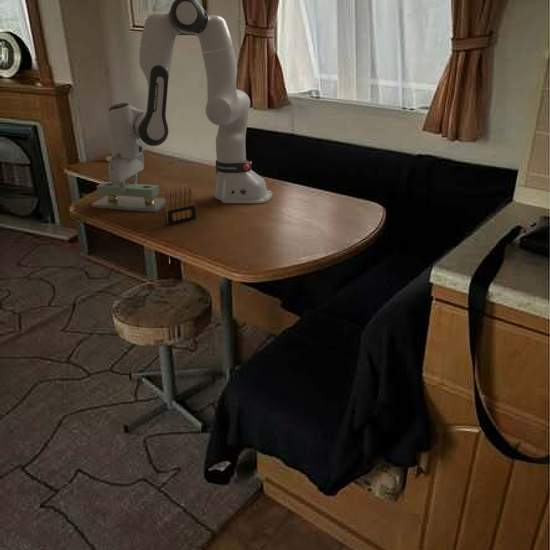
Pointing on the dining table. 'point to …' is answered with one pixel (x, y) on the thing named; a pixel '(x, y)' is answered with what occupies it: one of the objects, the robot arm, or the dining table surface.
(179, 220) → the ammunition clip
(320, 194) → the dining table surface
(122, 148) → the robot arm
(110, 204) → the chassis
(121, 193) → the board
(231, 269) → the dining table surface
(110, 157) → the sitting furry creature
